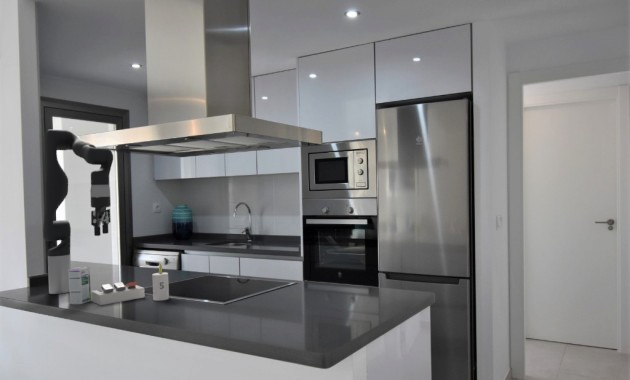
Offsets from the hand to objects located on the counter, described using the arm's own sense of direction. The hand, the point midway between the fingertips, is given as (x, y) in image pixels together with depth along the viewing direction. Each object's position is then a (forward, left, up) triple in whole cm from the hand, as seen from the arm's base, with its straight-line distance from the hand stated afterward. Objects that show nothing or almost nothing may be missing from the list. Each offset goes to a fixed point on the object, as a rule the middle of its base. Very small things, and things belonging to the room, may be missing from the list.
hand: (101, 234), depth 198 cm
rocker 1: (+3, +1, -22) cm, 22 cm away
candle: (+15, +18, -28) cm, 37 cm away
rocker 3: (+3, +11, -22) cm, 25 cm away
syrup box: (-5, -8, -28) cm, 30 cm away
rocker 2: (+3, +6, -22) cm, 23 cm away
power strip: (0, +9, -28) cm, 29 cm away
